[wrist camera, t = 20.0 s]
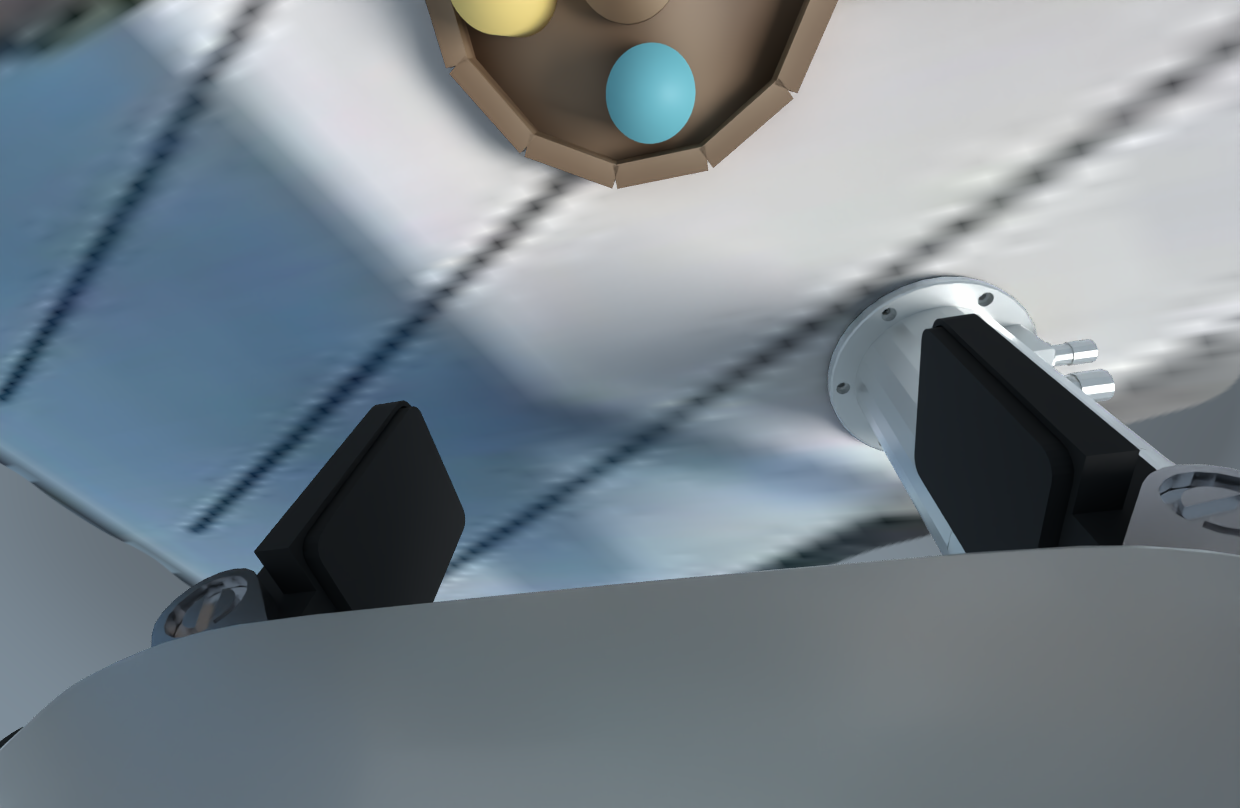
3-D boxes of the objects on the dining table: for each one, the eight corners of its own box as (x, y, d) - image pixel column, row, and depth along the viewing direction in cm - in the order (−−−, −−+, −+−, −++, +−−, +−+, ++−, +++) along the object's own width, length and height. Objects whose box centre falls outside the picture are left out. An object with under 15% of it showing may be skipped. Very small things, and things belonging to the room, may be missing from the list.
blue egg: (685, 36, 29) (688, 32, 25) (695, 123, 31) (700, 134, 27) (606, 54, 30) (597, 54, 25) (622, 138, 32) (615, 151, 27)
